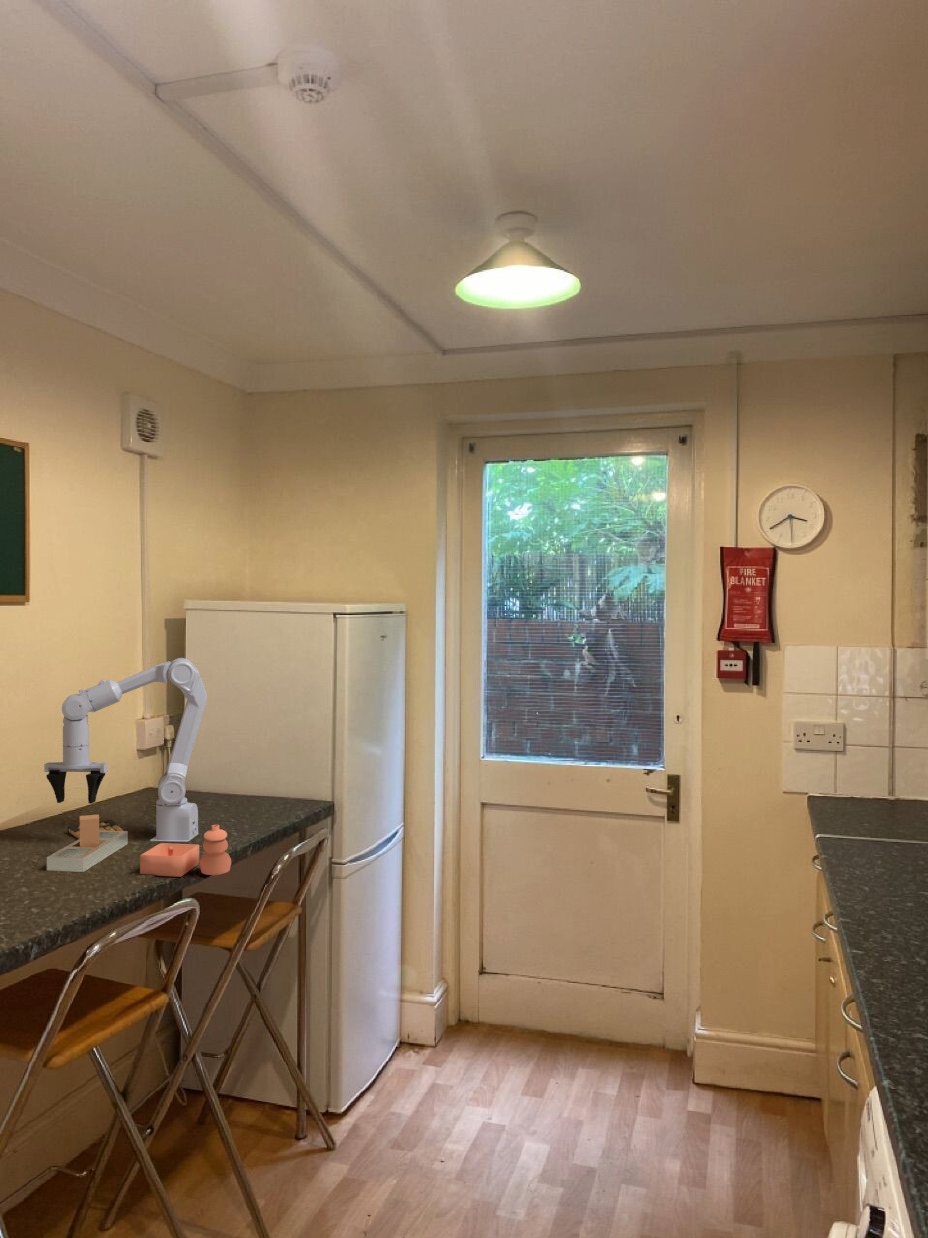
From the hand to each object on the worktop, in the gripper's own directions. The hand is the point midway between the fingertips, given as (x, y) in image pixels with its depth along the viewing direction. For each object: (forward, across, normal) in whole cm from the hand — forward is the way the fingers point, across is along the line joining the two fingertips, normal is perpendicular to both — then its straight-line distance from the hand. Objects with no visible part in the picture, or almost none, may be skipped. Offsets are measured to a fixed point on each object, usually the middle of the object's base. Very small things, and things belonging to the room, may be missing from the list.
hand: (76, 802), depth 213 cm
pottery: (+10, -34, +17) cm, 39 cm away
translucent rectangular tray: (+10, -8, +10) cm, 16 cm away
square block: (+10, -8, +10) cm, 16 cm away
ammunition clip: (+9, +2, -12) cm, 15 cm away
